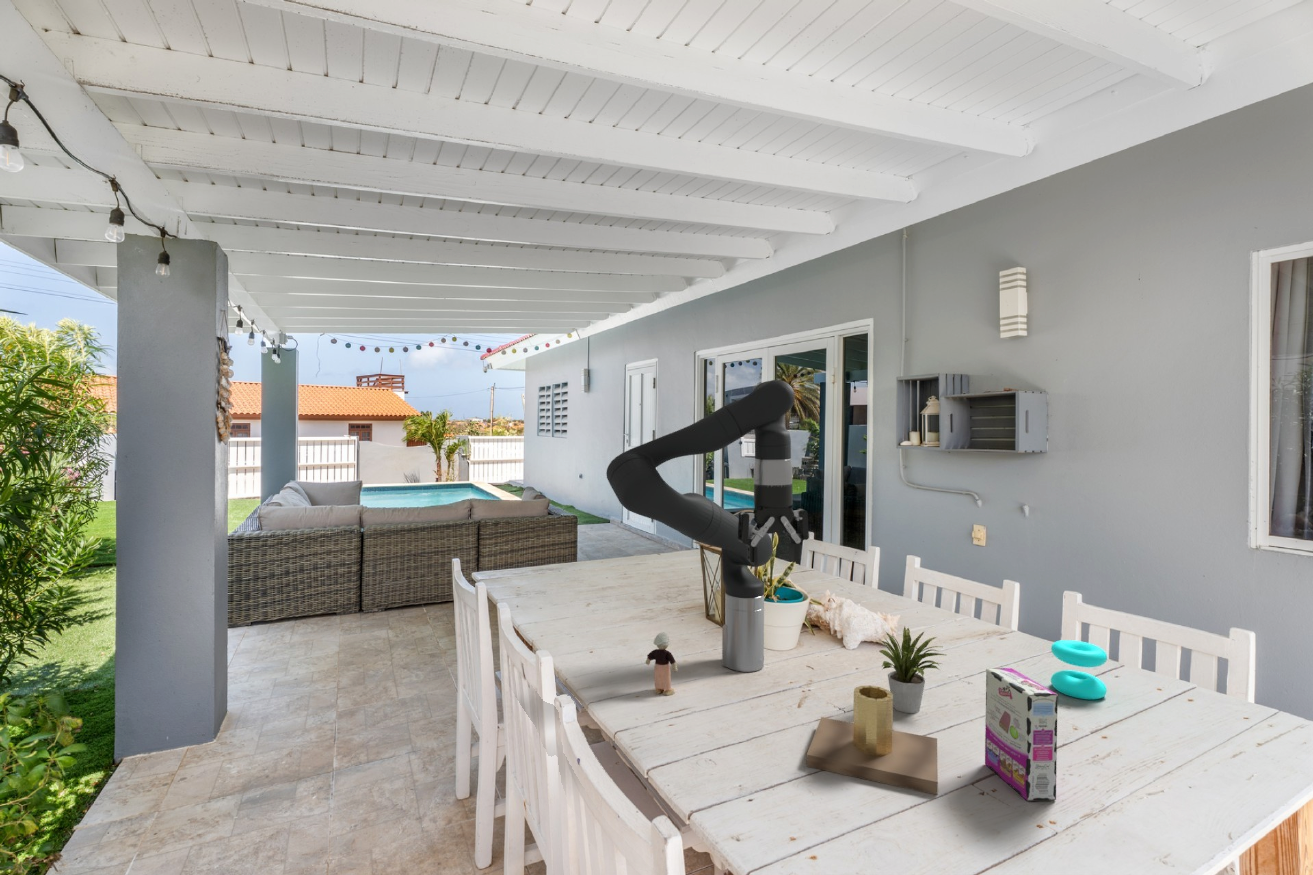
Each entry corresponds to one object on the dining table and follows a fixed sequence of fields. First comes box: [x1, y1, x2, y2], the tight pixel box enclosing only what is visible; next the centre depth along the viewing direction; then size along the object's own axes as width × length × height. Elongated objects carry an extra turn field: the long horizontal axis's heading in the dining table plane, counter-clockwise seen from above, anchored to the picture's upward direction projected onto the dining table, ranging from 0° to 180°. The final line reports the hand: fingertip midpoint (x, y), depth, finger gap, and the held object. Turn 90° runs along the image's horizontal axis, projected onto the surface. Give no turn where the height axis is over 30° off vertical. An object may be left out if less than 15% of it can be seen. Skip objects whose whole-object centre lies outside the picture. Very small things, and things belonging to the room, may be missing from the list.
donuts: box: [1050, 639, 1108, 700], centre depth 135 cm, size 10×10×10 cm
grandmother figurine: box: [645, 632, 678, 696], centre depth 135 cm, size 8×4×13 cm, turn 71°
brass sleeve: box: [853, 685, 894, 756], centre depth 108 cm, size 6×6×9 cm
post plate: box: [806, 716, 939, 796], centre depth 108 cm, size 20×15×9 cm
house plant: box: [875, 626, 946, 714], centre depth 126 cm, size 14×14×16 cm
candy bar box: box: [984, 667, 1059, 802], centre depth 101 cm, size 11×5×16 cm, turn 5°
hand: (773, 562), depth 125 cm, fingers open, 8 cm apart
